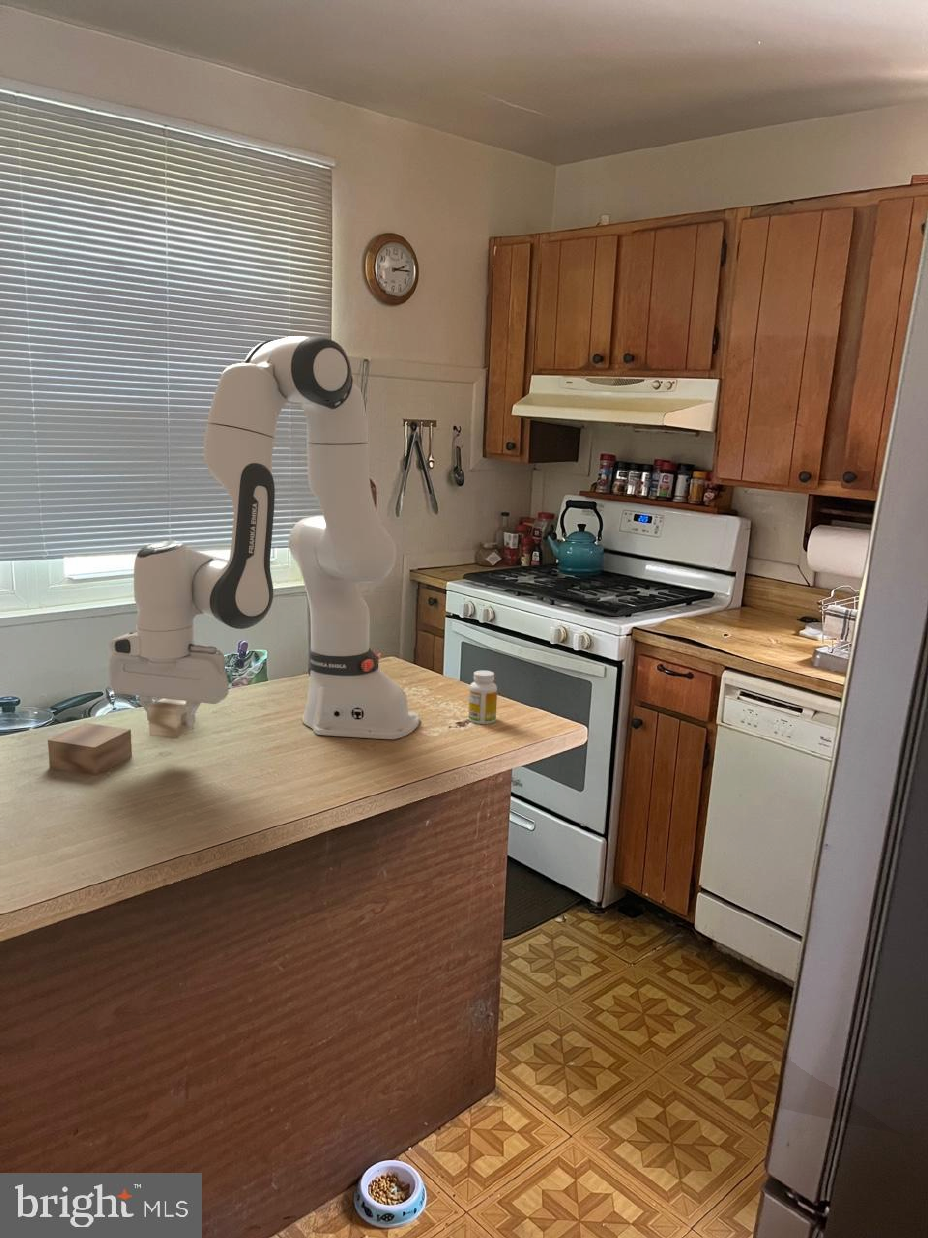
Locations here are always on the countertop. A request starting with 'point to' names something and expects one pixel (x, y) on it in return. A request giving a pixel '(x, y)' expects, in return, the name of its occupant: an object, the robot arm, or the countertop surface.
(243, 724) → the countertop surface
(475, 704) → the supplement bottle
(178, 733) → the birch cube
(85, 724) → the walnut block
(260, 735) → the countertop surface
